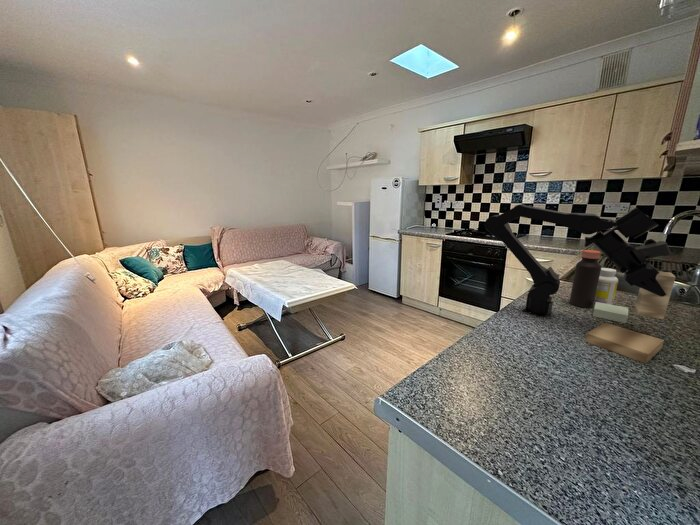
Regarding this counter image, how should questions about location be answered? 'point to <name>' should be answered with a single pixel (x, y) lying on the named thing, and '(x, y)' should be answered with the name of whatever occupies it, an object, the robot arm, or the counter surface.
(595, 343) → the oak block
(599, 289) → the supplement bottle
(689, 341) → the counter surface
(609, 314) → the sage block
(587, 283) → the vinegar
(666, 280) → the beech post
